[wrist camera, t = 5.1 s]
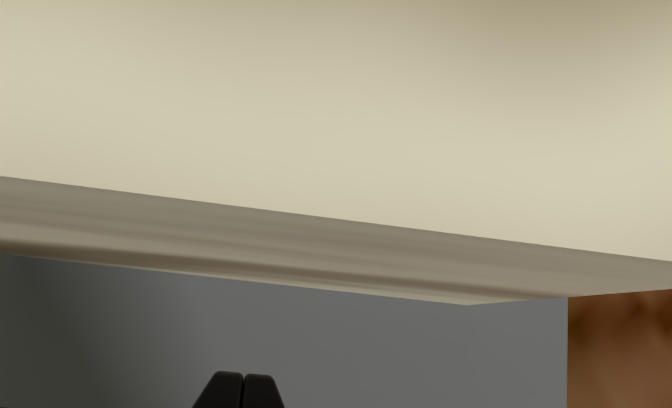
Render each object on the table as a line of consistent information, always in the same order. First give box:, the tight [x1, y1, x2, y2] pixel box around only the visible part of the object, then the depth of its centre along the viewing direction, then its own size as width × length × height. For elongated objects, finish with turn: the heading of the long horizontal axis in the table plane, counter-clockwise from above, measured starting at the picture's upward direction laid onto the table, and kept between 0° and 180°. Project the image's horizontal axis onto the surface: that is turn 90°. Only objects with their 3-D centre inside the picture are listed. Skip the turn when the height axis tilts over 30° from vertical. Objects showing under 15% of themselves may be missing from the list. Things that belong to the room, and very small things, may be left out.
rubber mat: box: [0, 252, 568, 408], centre depth 17 cm, size 22×18×1 cm
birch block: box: [0, 0, 672, 305], centre depth 11 cm, size 5×12×10 cm, turn 84°
